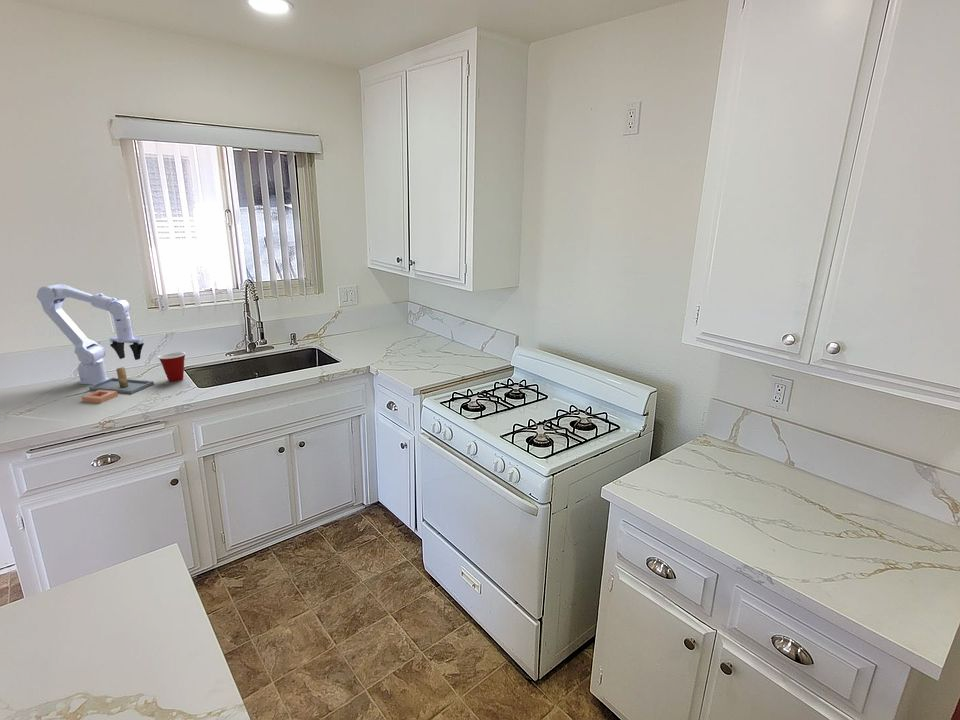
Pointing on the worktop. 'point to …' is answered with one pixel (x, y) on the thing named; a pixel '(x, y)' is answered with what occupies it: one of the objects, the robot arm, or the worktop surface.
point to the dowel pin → (122, 377)
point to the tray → (114, 385)
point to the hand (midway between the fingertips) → (130, 358)
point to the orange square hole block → (99, 396)
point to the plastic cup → (173, 365)
